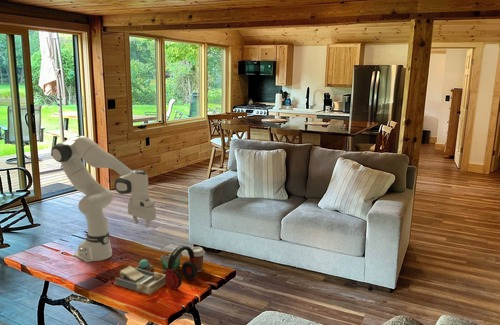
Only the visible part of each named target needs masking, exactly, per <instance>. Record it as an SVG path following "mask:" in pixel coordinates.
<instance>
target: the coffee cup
mask: <svg viewBox="0 0 500 325" xmlns="http://www.w3.org/2000/svg"><path fill="white" fill-rule="evenodd" d="M190 248H191V249H192V250H193V252H194V258H195V265H196V267H197V273H201V272H202V271H203V269H204V268H203V267H204V266H203V263H204V255H205V254H206V251H205V250H204V249H203V247H200V246H193V247H190Z"/></svg>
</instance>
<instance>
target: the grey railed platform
mask: <svg viewBox="0 0 500 325" xmlns="http://www.w3.org/2000/svg"><path fill="white" fill-rule="evenodd" d="M134 268H135V267H134ZM135 269H136V270H138V271H139V272H141V273H142V274H144V277H142V278H141V279H139V280H137V281H136V282H134V281H132V280H131V279H129V278H128V277H125V278H124V279H122V278H120V277H114V284H115V286H120V287H122V288H125V289H130V290H131V291H132V290H133V291H135V292H138V291H137V283H140V284H144V285H146V284H147V283H149V282H151V281H152V280H154V271H153V272H152V271H146V270H142V269H138V268H135Z"/></svg>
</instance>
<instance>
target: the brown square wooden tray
mask: <svg viewBox="0 0 500 325" xmlns="http://www.w3.org/2000/svg"><path fill="white" fill-rule="evenodd" d="M134 268H138V269H142V268H140V266H139V265H137V266H135V267H134ZM142 270H146V271H149V272H152V270H154V265H152V264H149V265H148V267H147V268H145V269H142Z"/></svg>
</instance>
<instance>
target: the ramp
mask: <svg viewBox="0 0 500 325" xmlns="http://www.w3.org/2000/svg"><path fill="white" fill-rule="evenodd" d="M125 277H128V278H129V279H131V280H132V281H134V282H136V281H137V280H139V279H141V278H142V277H144V274H142V273H141V272H139V271H138V270H136V269H135V267H133V266H132V265H128V266H127V267H125V268H123V269H121V270H120V271H119V278H122V279H124V278H125Z"/></svg>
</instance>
